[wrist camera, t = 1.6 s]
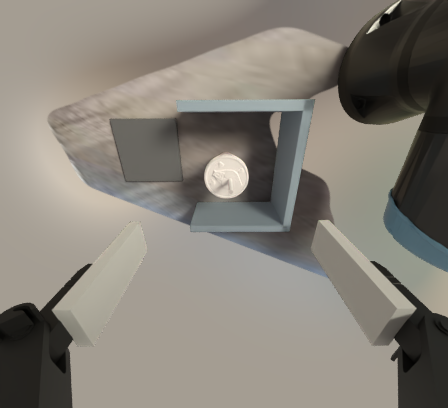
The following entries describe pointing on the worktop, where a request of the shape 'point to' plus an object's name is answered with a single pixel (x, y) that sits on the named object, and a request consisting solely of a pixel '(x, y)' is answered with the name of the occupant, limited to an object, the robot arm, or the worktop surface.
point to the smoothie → (226, 176)
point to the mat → (148, 149)
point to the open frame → (283, 173)
